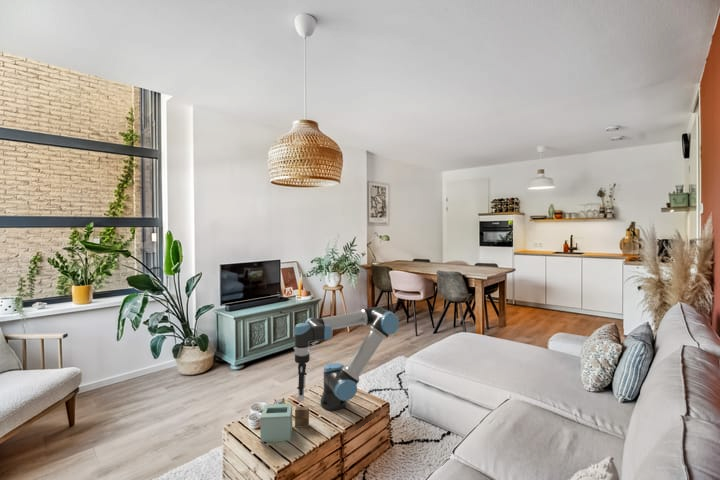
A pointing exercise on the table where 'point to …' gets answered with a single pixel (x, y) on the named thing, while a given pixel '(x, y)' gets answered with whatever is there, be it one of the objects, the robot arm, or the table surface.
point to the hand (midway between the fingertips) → (301, 394)
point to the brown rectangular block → (301, 416)
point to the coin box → (276, 422)
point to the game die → (279, 401)
